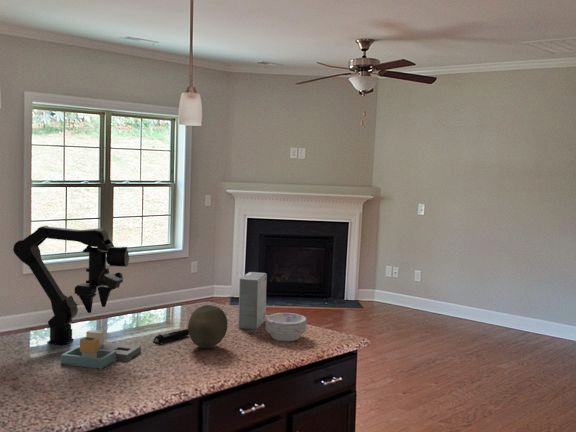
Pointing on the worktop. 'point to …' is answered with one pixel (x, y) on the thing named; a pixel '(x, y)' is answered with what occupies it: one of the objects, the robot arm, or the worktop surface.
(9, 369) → the worktop surface
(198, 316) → the cantaloupe
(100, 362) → the parts tray
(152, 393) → the worktop surface
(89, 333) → the block
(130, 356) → the block
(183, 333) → the electric trimmer
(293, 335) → the paper bowls
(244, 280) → the hard drive box
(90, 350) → the block
